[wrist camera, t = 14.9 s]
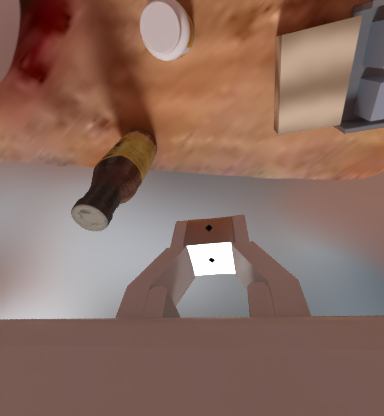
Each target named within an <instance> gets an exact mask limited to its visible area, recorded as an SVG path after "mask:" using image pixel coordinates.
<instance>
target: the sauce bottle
mask: <svg viewBox="0 0 384 416" xmlns="http://www.w3.org/2000/svg"><path fill="white" fill-rule="evenodd" d="M156 151H157V146H156V143H155V140H154V139H153V137H152V136H151V135H150V134H148V133H147V132H145V131H143V130H132V131H130V132H129V133H127V134H125V135H124V136H123V137H122V138H121V139H120V141H119V142H118V143H117V144H116V145H115V146H114V147H113V148H112V149H111V150H110V151H109V152H108V153H107V154H106V155H105V157H103V158H102V160H101V161H100V162H99V163H98V164H97V165H96V167H95V168H94V172H93V178H92V183H91V187H90V189H89V191H88V192H87V193H86V194H85V196H84V197H83V198H81V199H79V200H78V201H77V202H76V204H75V205H74V207H73V208H72V211H71V214H72V217H73V219H74V220H75V222H76V223H78V224H79V225H80V226H81V227H83V228H85V229H87V230H90V231H102V230H104V229H105V228H106V227H107V226H108V225H109V223H110V221H111V220H112V216H113V213H114V211H115V209H116V208H117V207H118V206H119V204H121V203H125V202H127V201H128V200H130V199H131V198H132V197H133V196H134V194H135V193H136V191H137V188H138V187H139V186H140V184H141V183H142V181H143V179H144V177H145V175H146V173H147V172H148V170H149V168H150V166H151V164H152V162H153V160H154V157H155V155H156Z"/></svg>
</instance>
